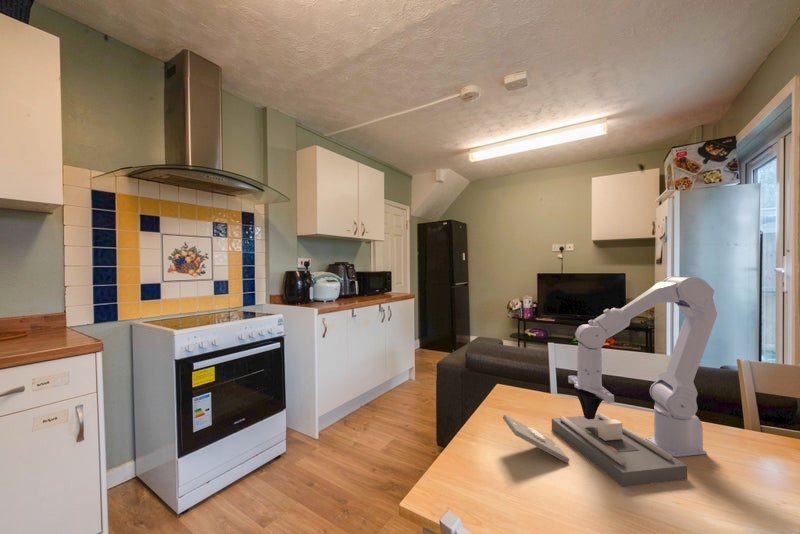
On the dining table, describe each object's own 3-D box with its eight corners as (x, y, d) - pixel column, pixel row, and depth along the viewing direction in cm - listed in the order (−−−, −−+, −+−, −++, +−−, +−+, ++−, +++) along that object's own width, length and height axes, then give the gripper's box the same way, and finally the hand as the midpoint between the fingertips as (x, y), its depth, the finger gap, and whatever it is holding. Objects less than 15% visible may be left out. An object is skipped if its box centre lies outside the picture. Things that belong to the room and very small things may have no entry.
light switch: (572, 456, 74) (518, 427, 74) (560, 478, 74) (506, 449, 73) (553, 436, 82) (505, 410, 82) (543, 456, 82) (495, 430, 82)
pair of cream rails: (600, 416, 90) (600, 412, 90) (673, 460, 70) (673, 454, 70) (558, 420, 88) (558, 415, 88) (620, 466, 68) (620, 459, 68)
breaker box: (601, 424, 92) (601, 414, 92) (687, 479, 68) (687, 465, 68) (551, 428, 90) (551, 418, 90) (622, 486, 66) (622, 472, 66)
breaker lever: (615, 434, 80) (615, 419, 80) (622, 438, 78) (622, 422, 78) (598, 436, 79) (598, 420, 79) (604, 440, 77) (604, 424, 77)
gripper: (559, 361, 92) (559, 407, 92) (596, 378, 78) (596, 433, 78) (580, 360, 93) (580, 405, 93) (621, 377, 79) (621, 430, 79)
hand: (589, 418), depth 86 cm, fingers closed
